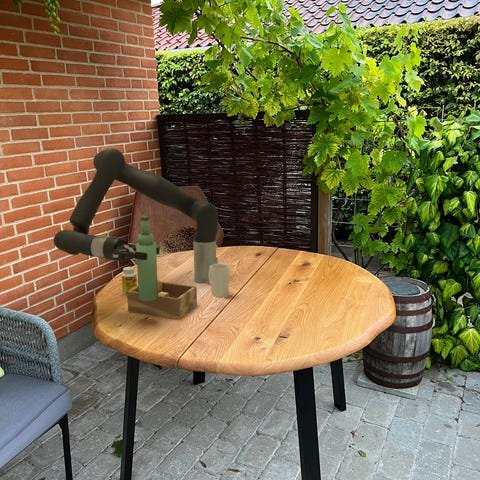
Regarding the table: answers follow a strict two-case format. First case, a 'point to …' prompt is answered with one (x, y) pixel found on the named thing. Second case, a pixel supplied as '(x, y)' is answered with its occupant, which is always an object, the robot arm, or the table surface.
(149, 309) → the crate
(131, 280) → the supplement bottle
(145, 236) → the green bottle
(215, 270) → the mug
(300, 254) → the table surface
